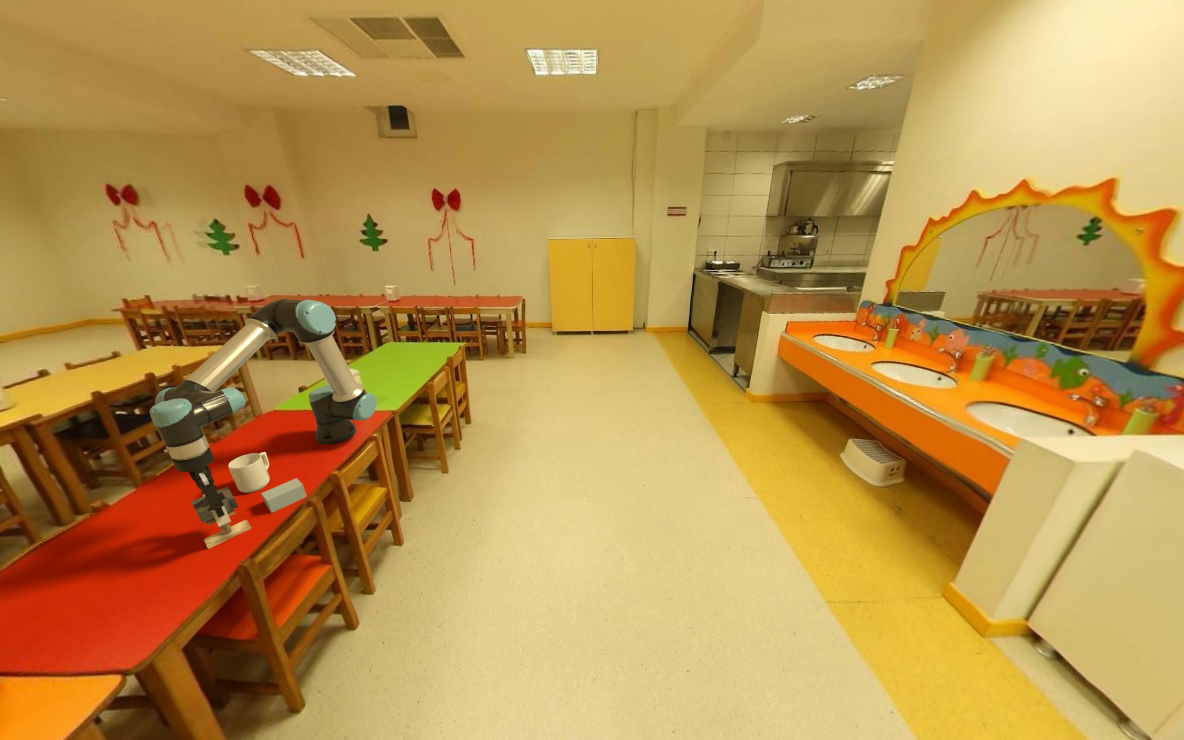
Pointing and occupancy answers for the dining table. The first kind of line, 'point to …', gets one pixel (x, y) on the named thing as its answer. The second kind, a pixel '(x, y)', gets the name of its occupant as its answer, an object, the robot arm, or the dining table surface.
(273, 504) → the block
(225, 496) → the c link
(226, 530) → the stand
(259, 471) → the mug
